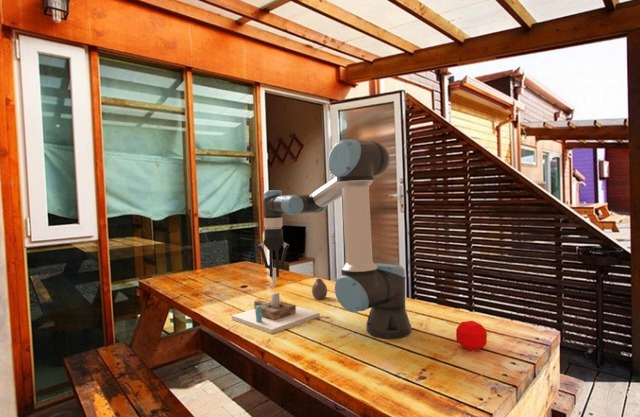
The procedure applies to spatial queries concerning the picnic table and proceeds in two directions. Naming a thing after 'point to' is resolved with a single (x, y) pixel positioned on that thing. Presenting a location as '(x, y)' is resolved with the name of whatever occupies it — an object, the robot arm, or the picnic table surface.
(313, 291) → the avocado
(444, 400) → the picnic table surface
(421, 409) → the picnic table surface
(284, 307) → the collar
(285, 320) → the base
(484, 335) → the ball
